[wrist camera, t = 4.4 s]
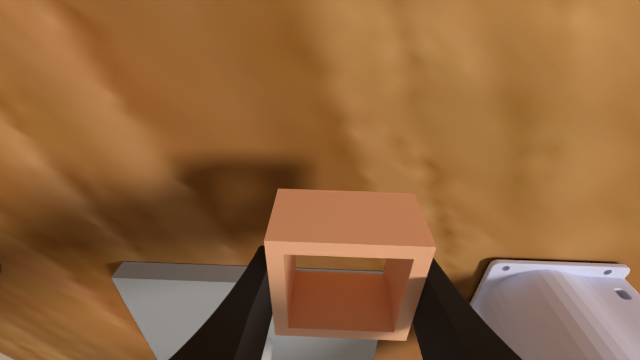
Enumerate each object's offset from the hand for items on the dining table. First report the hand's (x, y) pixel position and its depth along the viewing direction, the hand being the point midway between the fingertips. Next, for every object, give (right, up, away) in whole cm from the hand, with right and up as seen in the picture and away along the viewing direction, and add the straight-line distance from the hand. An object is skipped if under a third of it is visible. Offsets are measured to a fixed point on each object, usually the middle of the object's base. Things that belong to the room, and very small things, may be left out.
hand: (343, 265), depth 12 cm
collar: (0, +1, +1) cm, 2 cm away
